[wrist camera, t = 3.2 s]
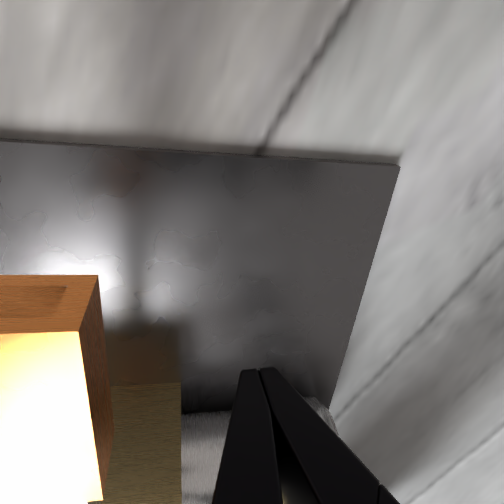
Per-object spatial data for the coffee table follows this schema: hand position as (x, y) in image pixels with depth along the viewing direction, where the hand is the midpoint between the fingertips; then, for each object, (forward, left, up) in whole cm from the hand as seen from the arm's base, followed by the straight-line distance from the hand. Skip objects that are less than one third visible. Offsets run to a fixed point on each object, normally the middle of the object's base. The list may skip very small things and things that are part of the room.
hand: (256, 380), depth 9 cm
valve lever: (+5, +5, -1) cm, 7 cm away
